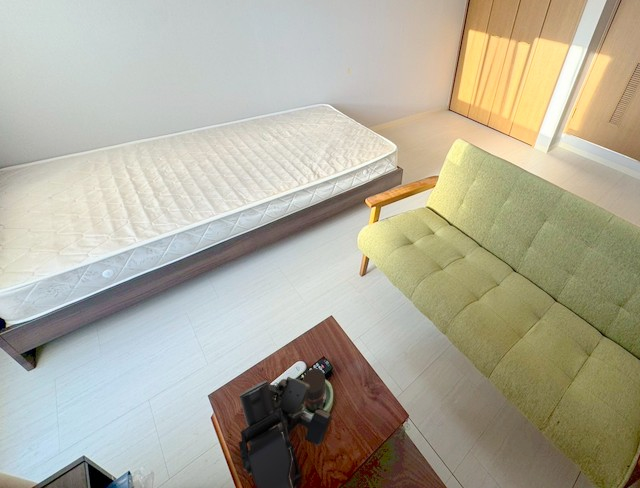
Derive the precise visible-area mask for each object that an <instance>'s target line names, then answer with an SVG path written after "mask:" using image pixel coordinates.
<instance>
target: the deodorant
mask: <svg viewBox="0 0 640 488" xmlns="http://www.w3.org/2000/svg"><path fill="white" fill-rule="evenodd" d="M325 380H326V376H325V372H324V371H323V370H322V369H319V368H312V369H309V370H308V371H307V372H306V373H305V374H304V376H303V378H302V381H303V382H305V383H307V384H309V385H310V391H309V393H308V395H307V398H306V400H305V404H306V408H307V410H308V411H309V412H311V413H315V411H316V410H317V407H319V406H320V404H321V403H322V402H323V408H324V406H325V404H326V386H325Z"/></svg>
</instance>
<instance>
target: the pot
mask: <svg viewBox="0 0 640 488" xmlns="http://www.w3.org/2000/svg"><path fill="white" fill-rule="evenodd" d="M325 386H326V404H325V406H324V408H323V410H325V411H327V413H329V414H330V412H331V411H332V410H331V409H332V408H333V404H334V390H333V385H332V384H331V383H330V381H329V380H327V379H325ZM303 407H304V408H305V409H304V412H306V413H308V414H310V415H312V416H313V415H314V413H311V412H309V411H308V410H307V408H306V404H305V402H304V404H303Z"/></svg>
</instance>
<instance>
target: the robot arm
mask: <svg viewBox="0 0 640 488" xmlns="http://www.w3.org/2000/svg"><path fill="white" fill-rule="evenodd" d="M286 377H287V378H286V379H285V378H283V379H281V380H279V382H277V385H274V384H270V383H269V380H264V381H262V382H260V383H257V384H256V385H254V386H251V387H249V388H248V389H247V390H245V391H243V392H241V394H239V400H240V404H241V408H242V412H243V415H244V419H245V424H246V428H244V429H242V430H240V437H241V441H239V442H238V446H239V453H240V459H241V466H242V469H243V471H244V472H246V473H247V475H248V476H251V475H252V479H253V483H254V485H255V487H257V488H296V487H298V486H299V484H300V483H301V481H302V479H301V477H300V476H301V475H302V473H301V469H300V466H299V462H298V459H297V455H296V452H295V451H296V450H295V448H294V444H293V440H290V436H291V437H292V436H293V435H294V433H295V431H296V428H297V427H298V426H299V425H300V426H302V427H304V428H306V429H307V430H306V434H305V437H304V440H305V441H307V442H309V443H311V444H313V445H314V446H316V447H319V446H321V445H322V444H323V442H324V441H325V438H326V434H327V432H328V429H329V426H330V423H331V421H332V414H331V413H330V412H329V413H327V411H325V410H323V402H322V403H321V404H320V406H319V407H317V410H316V411H315V413H314V415H313V416H312V415H310V414H308V413H306V412H304V409H305V408H304V407H303V404H304V402H305V400H306V398H307V395H308V393H309V391H310V385H309V384H307V383H305V382H303V380H301V379H299V378H292V377H291V376H286ZM248 444H249V447H248Z"/></svg>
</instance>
